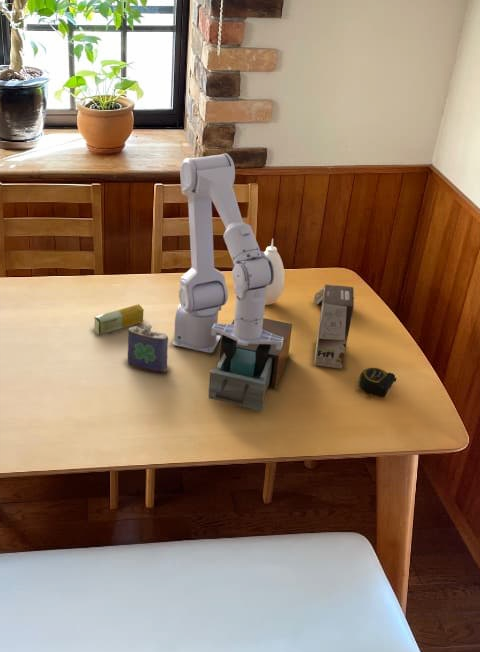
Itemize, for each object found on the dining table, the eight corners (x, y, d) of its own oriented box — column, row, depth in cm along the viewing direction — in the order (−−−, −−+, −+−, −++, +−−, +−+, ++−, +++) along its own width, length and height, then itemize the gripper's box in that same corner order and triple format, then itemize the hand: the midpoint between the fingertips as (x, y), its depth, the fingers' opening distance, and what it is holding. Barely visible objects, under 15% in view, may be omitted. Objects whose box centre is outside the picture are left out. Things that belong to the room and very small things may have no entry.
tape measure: (383, 403, 167) (386, 388, 165) (352, 391, 170) (355, 377, 168) (394, 387, 172) (398, 373, 170) (364, 376, 175) (367, 362, 173)
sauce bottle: (283, 311, 197) (291, 245, 187) (251, 310, 197) (257, 244, 187) (279, 295, 204) (287, 231, 194) (249, 294, 204) (255, 230, 194)
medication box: (98, 336, 186) (98, 322, 184) (93, 329, 188) (93, 316, 185) (143, 322, 191) (144, 309, 189) (138, 316, 193) (139, 302, 190)
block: (251, 384, 164) (253, 365, 162) (229, 379, 166) (230, 360, 163) (257, 371, 168) (259, 352, 165) (235, 366, 169) (237, 348, 167)
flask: (168, 368, 176) (169, 327, 170) (163, 375, 174) (164, 334, 168) (130, 358, 179) (130, 318, 173) (125, 365, 176) (124, 324, 170)
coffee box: (342, 369, 177) (354, 307, 168) (313, 365, 178) (323, 303, 169) (343, 347, 184) (354, 286, 175) (315, 343, 185) (324, 282, 176)
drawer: (254, 427, 158) (257, 400, 154) (199, 414, 161) (201, 387, 157) (275, 377, 172) (278, 351, 169) (224, 366, 175) (226, 340, 172)
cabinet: (274, 389, 170) (278, 355, 166) (218, 376, 174) (220, 343, 169) (288, 355, 181) (292, 323, 176) (234, 344, 184) (237, 312, 180)
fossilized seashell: (362, 304, 196) (335, 292, 204) (352, 285, 192) (325, 274, 200) (340, 325, 195) (315, 312, 203) (330, 306, 191) (304, 294, 200)
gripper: (208, 316, 157) (204, 372, 165) (280, 331, 153) (273, 388, 161) (218, 299, 163) (214, 354, 170) (288, 313, 159) (281, 369, 167)
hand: (243, 369), depth 166 cm, fingers closed on block, 5 cm apart
